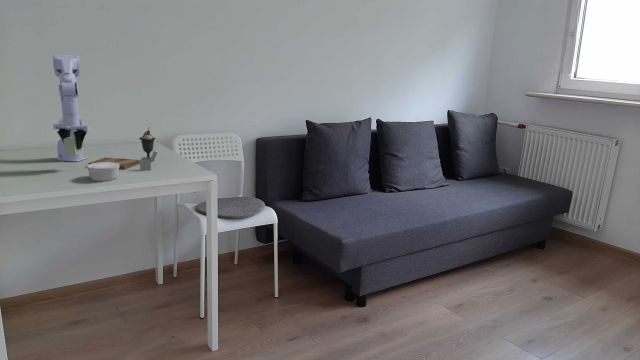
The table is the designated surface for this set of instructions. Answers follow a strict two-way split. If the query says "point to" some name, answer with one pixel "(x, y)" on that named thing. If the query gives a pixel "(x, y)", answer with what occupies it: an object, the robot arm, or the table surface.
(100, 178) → the ramekin
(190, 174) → the table surface
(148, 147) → the sundae
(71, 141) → the block
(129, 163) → the board
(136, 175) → the table surface
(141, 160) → the lighter
